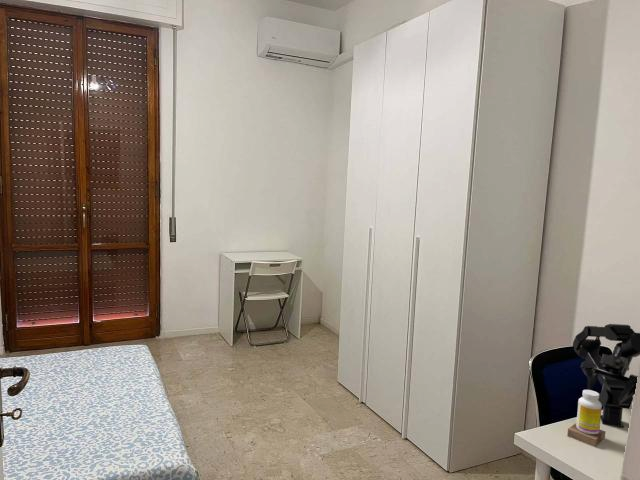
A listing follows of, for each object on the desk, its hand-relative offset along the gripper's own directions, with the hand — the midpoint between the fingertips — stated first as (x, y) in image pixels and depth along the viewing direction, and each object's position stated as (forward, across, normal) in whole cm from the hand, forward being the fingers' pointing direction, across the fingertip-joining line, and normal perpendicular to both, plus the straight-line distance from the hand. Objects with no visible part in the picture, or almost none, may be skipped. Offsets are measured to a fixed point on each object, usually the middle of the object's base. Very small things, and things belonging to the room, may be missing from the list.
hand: (603, 397), depth 151 cm
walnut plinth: (+12, -2, +7) cm, 14 cm away
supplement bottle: (+10, -2, +5) cm, 12 cm away
